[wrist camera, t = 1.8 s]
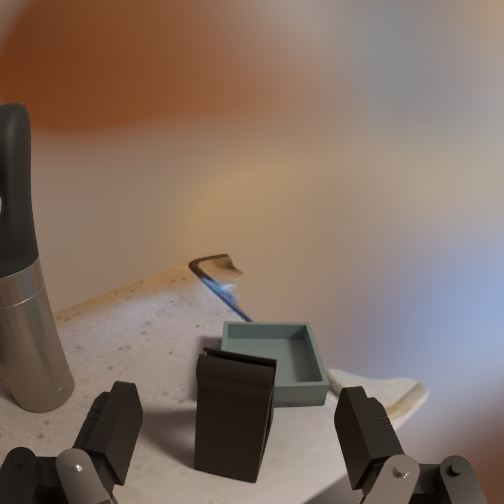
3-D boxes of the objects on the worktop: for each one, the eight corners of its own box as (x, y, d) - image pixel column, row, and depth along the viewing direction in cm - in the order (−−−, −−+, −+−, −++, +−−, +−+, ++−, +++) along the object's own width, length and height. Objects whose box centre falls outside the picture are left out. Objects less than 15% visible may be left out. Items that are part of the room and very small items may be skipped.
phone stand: (221, 408, 33) (218, 322, 29) (273, 418, 31) (283, 332, 27) (193, 469, 24) (179, 386, 20) (255, 484, 23) (264, 405, 19)
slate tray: (218, 406, 33) (217, 385, 32) (224, 341, 45) (223, 321, 44) (323, 405, 33) (329, 384, 32) (306, 341, 46) (309, 322, 44)
